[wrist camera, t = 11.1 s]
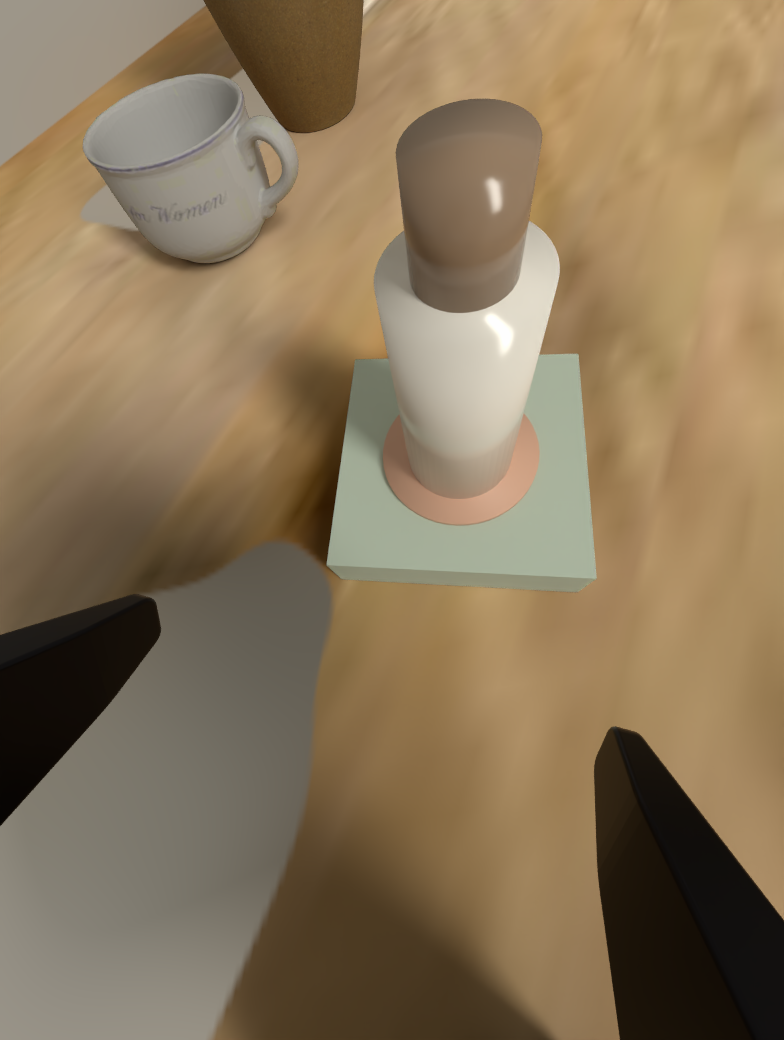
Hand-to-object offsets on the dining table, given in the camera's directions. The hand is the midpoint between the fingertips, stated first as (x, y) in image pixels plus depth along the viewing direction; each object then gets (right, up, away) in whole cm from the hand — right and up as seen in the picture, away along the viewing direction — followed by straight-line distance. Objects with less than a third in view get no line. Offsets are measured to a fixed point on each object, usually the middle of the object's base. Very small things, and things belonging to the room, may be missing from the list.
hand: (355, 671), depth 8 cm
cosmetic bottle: (+4, +6, +13) cm, 15 cm away
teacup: (-12, +25, +26) cm, 38 cm away
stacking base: (+4, +5, +16) cm, 17 cm away
